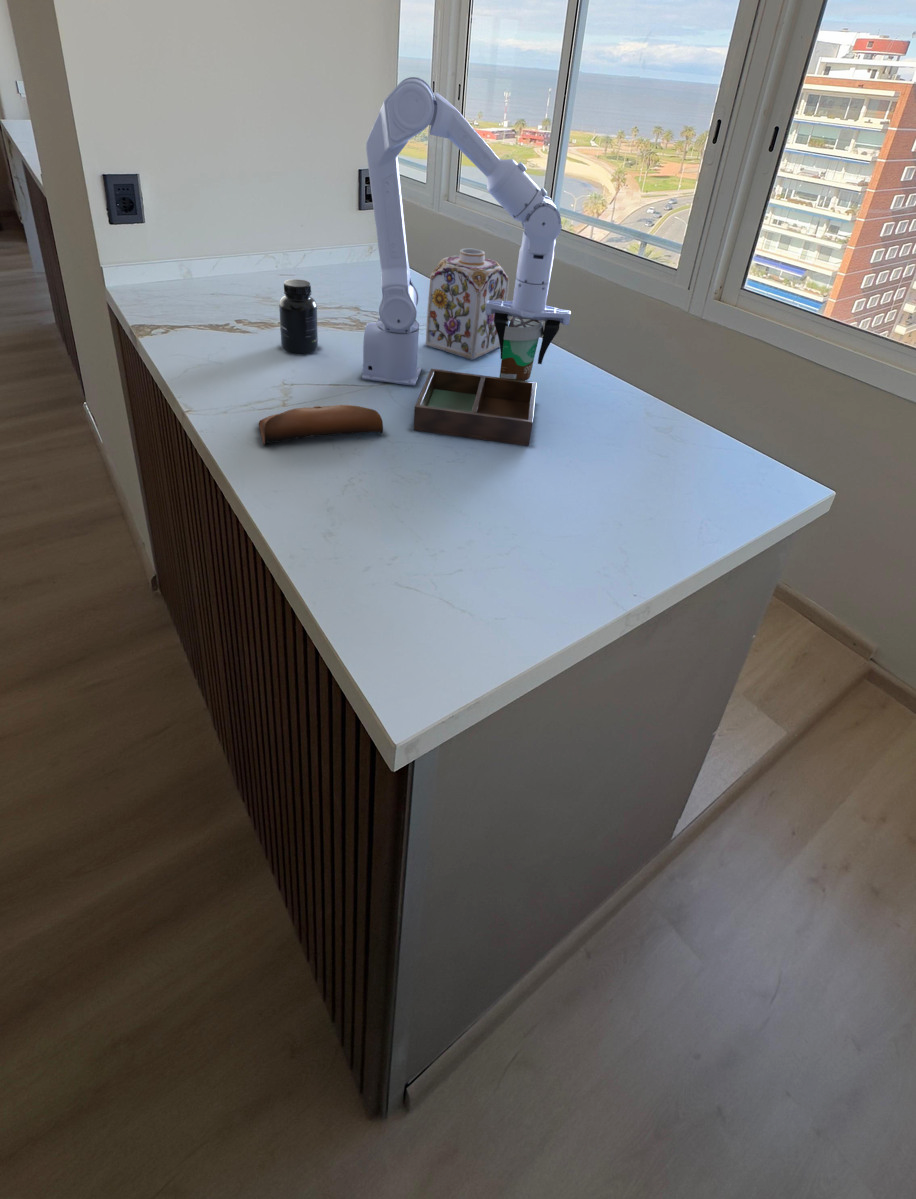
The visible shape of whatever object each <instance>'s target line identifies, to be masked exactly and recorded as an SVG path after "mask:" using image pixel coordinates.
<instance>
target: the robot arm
mask: <svg viewBox="0 0 916 1199" xmlns="http://www.w3.org/2000/svg"><path fill="white" fill-rule="evenodd" d="M429 126H430V129H429V131H430V132H429V135H430V136H435V137H439V138H443V139H448V140H449V141H451V143H452V144H453V145H454V146H455V147H456V148H457V149H458V150H459V151H460V152H461V153H462V154H463V155H464V156H465V157H466V158H467V159H468V160H469V161H470V162H471V163H472V164H474V166H475V167H476V168H477V169H478V170H479V171H480V172H481V173H482V174H483V175H484V176H485V177H486V190H487V192H488V193H489V194H490V195H491V197H493V198H494V199H495V200H496V202H498V204H499V205H500V206H501V207H502V208H503V209H504V210H505V212H507V213H508V214H509V216H511V217H512V218H513V220H514V221H516V222H521V226H522V228H523V231H522V239H521V246H520V247H519V252H518V259H517V265H516V274H515V282H514V287H513V288H514V289H513V295H512V296H513V297H512V300H507V301H494V300H487V303H486V311H485V314H487V315H492V314H495V317H494V324H495V327H496V330H497V334H498V338H499V343H500V347H499V348H500V357H499V358H500V360H502V352H503V344H504V333H505V327H506V326H509V324H510V322H509V321H510V317H511V318H513V317H518V318H526V319H534V320H541V321H542V322H544V325H543V329H544V334H543V336H542V340H541V345H540V349H539V352H538V358H537V365H542V363H543V360H544V358H545V355H546V353H547V350H548V348H549V346H550V345H551V343H552V341H553V340H554V338H555V337H556V335H557V334H558V332H559V331H560V325H561V324H562V325H564V326H569V325H570V320H571V316H572V311H571V310H568V309H562V308H558V307H553V306H549V305H547V300H548V293H549V288H550V283H551V282H550V281H551V276H552V269H553V264H554V258H555V246H556V239H557V238H558V236H559V235H560V233H561V231H562V229H563V225H562V218H561V213H560V211H559V210H558V208H557V206H556V204H555V203H554V202H553V200H552V198H551V197H550V196H548V191H547V190H546V189H545V188H544V187H542V188H540V187H539V186H538V185H537V184H536V183H535V182H534V181H533V179H532V178H531V177H530V176H529V175H528V174H527V173H526V171H527V167H526V165H525V164H524V163H523V162H522V161H519V162H516V161H515V160H514V159H513V158H508V159H507V158H506V159H501V158H500V157H499V156H498V155H497V154H496V152H495V151H494V150H493V149H492V148H491V147H490V146H489V144H488V143H487V142H486V141H485V139H484V138H482V136H481V135H480V134H479V133H478V132H477V131H476V130H475V128H474V126H472V125H471V124H470V122H469V121H468V120H467V119H466V118H465V116H464V115H463V114H462V113H461V112H460V111H459V110H458V109H457V108H456V107H455V106H454V105H453V104H452V103H451V102H450V101H449V100H447V99H446V98H445V97H444V96H442V95H441V94H440V93H438V92H437V91H434V92H433V90H432V87H431V86H430V84H429V83H428V82H426V81H425V80H424V79H423V78H420V77H417V76H409V77H406V78H404V79H403V80H402V81H400V82H399V83H398V84H397V85H396V86H395V87H394V89H393V90H392V91H391V92H390V93H389V94H388V95H387V97H385V99H384V100H383V102H382V105H381V107H380V109H379V112H378V114H377V116H376V119H375V121H374V123H373V125H372V128H371V130H370V132H369V135H368V137H367V139H366V142H365V151H366V159H367V167H368V168H367V169H368V176H369V184H370V192H371V200H372V206H373V214H374V215H373V216H374V222H375V223H374V224H375V232H376V239H377V247H378V248H377V249H378V256H379V264H380V284H381V285H380V286H381V287H380V288H381V300H380V304H379V306H378V315H379V318H378V319H377V322H373V321H372V322H371V321H370V322H367V323H366V325H365V329H364V333H363V342H362V343H363V344H362V357H363V358H362V376H361V377H362V378H361V379H363V380H367V381H374V382H375V381H376V382H381V383H382V382H383V383H389V384H390V383H391V384H399V385H405V386H415V385H416V383H417V382H418V380H419V379H418V378H419V377H420V375H421V372H422V370H423V369H422V367H420V366H418V354H419V335H420V334H419V333H420V323H419V321H417V315H418V314H417V313H418V311H417V306H418V304H419V293H418V290H417V288H416V286H415V285H414V283H413V281H412V277H411V269H410V268H411V267H410V264H409V256H408V247H407V236H406V226H405V215H404V205H403V197H402V187H401V178H400V167H399V158H398V156H399V154H401V152H402V151H403V149H404V148H405V147H406V145H407V144H408V143H409V141H410V140H411V139H413V138H414V137H416V136H417V135H419V134H420V133H421V132H423V131H425V130H426V129H427V128H428V127H429Z"/></svg>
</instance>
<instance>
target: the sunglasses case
mask: <svg viewBox="0 0 916 1199" xmlns="http://www.w3.org/2000/svg"><path fill="white" fill-rule="evenodd" d="M258 430H259V433H260V437H261V442H262V445H267V443H269V444H271V443H277V442H285V441H292V440H296V439H305V438H309V437H325V436H326V437H328V436H335V435H336V436H337V435H351V434H363V433H364V434H365V433H380V434H381V435H382V434H383V433H384V421H383V419H382V416H381V414H380V412H378V411H377V410H375V409H372V408H369V407H364V406H359V405H352V404H336V405H324V406H323V405H322V406H321V405H314V406H313V407H309V406H308V407H304V406H303V407H296V408H291V409H288V410H286V411H282V412H280V413H277V414H271V415H269V416H266V417H264V418H262V419H260V420H259V421H258Z"/></svg>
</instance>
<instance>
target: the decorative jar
mask: <svg viewBox="0 0 916 1199" xmlns="http://www.w3.org/2000/svg"><path fill="white" fill-rule="evenodd" d="M485 254H486V253H485V251H484V250H481V249H478V248H461V249H460V250H459V255H451V256H447V257H443V258H441V259H440V261H439V262H438V264H437V265H436V267H435V268H434V269H433V271H432V272H431V273H430V276H429V287H428V295H427V297H428V298H427V299H428V300H427V310H426V326H425V346H427V347H430V348H434V349H437V350H440V351H443V352H446V353H449V354H452V355H455V356H459V357H461V358H464V359H467V360H471V361H474V360H476V359H478V358H480V357H482V356H484V355H486V354H488V353H490V352H492V351H494V350H496V349H498V348H500V343H499V338H498V334H497V330H496V327H495V324H494V317H495V314H492V315H487V314H485V311H486V303H487V300H494V301H508V294H509V283H510V278H509V276H508V274H507V273H506V272H505V270H504V268H503V267H502V266H501V265H500V264H499V263H498V262H497V261H496V260H492V259H489V258H486V256H485Z"/></svg>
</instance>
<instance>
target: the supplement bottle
mask: <svg viewBox="0 0 916 1199" xmlns="http://www.w3.org/2000/svg"><path fill="white" fill-rule="evenodd" d="M283 294H284V295H283V296H282V297H281V298H280V300H279V302H278V310H279V326H280V343H281V344H280V345H281V348H282V349H283V351H285V352H287V353H289V354H293V355H309V354H312V353H315V352H316V351H317V350H318V347H319V339H318V338H319V335H318V334H319V333H318V304H317V302H316V300H315V299H314V297H312V296H311V295H312V284H311V282H310V281H308V280H305V279H300V278H299V279H297V278H291V279H286V280H285V281H283Z"/></svg>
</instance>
